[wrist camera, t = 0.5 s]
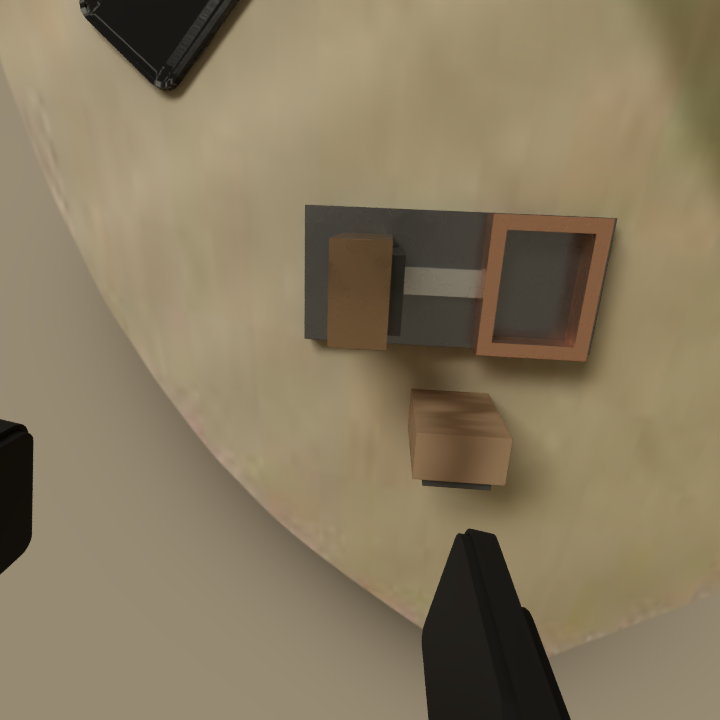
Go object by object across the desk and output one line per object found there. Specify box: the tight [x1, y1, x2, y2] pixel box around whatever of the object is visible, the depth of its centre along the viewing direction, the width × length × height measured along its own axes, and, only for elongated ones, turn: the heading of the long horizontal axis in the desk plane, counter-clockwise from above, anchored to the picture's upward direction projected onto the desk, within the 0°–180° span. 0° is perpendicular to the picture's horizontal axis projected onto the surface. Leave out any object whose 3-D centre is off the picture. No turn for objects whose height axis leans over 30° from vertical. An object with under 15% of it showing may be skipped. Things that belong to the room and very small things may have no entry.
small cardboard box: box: [408, 389, 513, 490], centre depth 35 cm, size 6×4×8 cm
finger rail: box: [305, 205, 617, 361], centre depth 31 cm, size 22×10×10 cm, turn 88°
